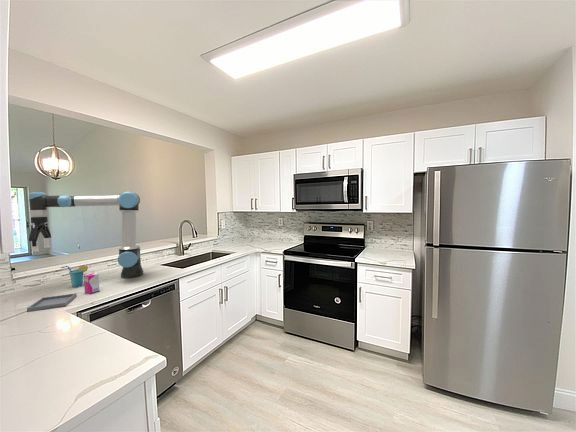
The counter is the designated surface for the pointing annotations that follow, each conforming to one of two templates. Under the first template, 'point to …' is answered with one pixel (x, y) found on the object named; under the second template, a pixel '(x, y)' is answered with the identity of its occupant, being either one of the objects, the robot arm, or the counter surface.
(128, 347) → the counter surface
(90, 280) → the supplement box
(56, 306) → the tray
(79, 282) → the cup
